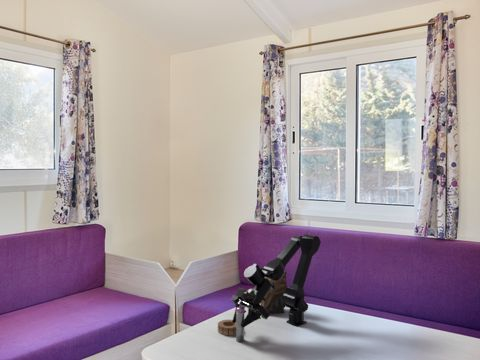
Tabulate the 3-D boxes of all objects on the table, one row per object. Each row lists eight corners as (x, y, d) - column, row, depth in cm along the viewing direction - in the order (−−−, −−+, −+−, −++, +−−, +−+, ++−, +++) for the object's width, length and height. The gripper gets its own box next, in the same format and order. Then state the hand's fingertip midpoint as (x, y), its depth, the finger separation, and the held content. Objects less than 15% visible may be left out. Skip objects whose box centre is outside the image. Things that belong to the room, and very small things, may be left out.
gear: (229, 324, 181) (229, 318, 181) (244, 331, 175) (244, 324, 175) (213, 330, 175) (213, 323, 175) (227, 337, 169) (228, 329, 169)
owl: (259, 305, 207) (260, 264, 206) (285, 306, 206) (286, 265, 205) (260, 314, 194) (260, 271, 193) (287, 315, 193) (288, 272, 193)
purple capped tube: (240, 338, 168) (240, 305, 168) (245, 340, 166) (246, 307, 165) (234, 340, 166) (234, 307, 165) (239, 342, 164) (240, 309, 163)
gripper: (234, 274, 175) (212, 306, 168) (263, 285, 160) (240, 320, 154) (249, 290, 180) (228, 321, 174) (279, 302, 165) (256, 336, 159)
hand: (237, 324), depth 165 cm, fingers open, 5 cm apart
